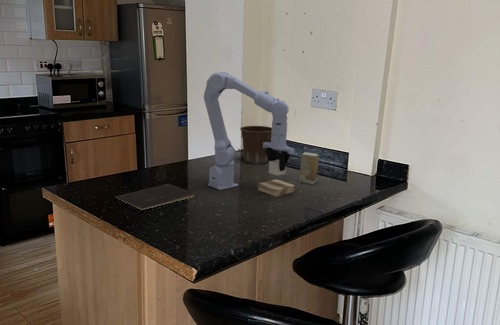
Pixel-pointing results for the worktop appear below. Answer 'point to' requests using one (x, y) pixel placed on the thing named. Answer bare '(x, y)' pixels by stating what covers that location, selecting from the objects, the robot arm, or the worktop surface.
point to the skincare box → (309, 168)
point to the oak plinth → (276, 187)
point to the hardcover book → (156, 196)
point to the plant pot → (255, 143)
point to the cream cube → (275, 168)
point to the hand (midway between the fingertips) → (277, 169)
